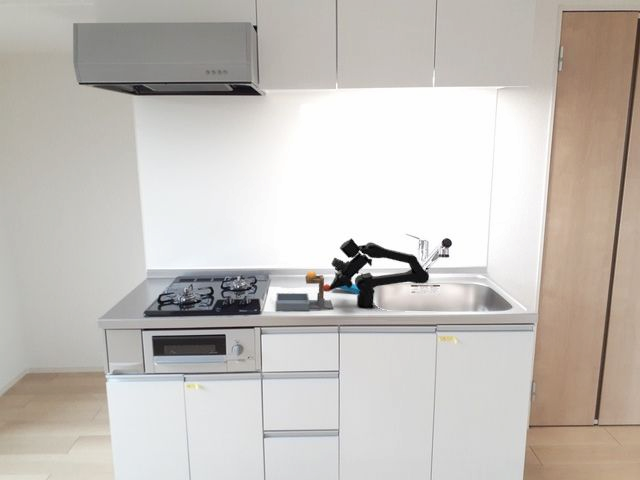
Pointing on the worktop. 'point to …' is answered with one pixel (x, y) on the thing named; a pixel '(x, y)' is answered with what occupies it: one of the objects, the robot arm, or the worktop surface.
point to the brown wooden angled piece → (319, 281)
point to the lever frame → (320, 304)
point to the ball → (311, 275)
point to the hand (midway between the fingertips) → (329, 289)
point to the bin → (292, 302)
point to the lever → (345, 288)
